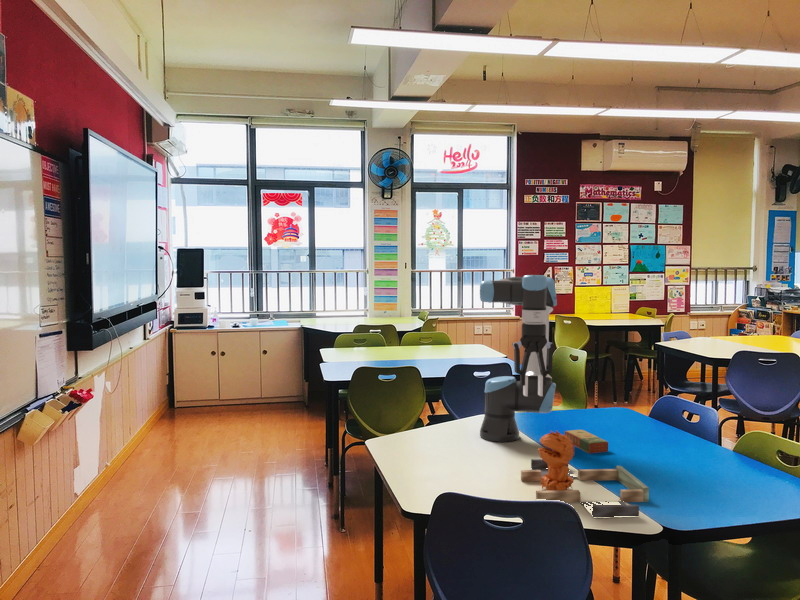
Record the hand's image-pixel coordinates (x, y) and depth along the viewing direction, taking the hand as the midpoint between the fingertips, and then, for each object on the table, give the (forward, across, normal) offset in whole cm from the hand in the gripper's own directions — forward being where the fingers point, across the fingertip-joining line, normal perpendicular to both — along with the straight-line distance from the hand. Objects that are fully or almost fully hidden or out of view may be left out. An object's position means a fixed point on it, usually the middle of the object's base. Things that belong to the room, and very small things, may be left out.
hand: (532, 395), depth 181 cm
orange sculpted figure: (+25, +2, -17) cm, 30 cm away
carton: (+25, +27, +25) cm, 45 cm away
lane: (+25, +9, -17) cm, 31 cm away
